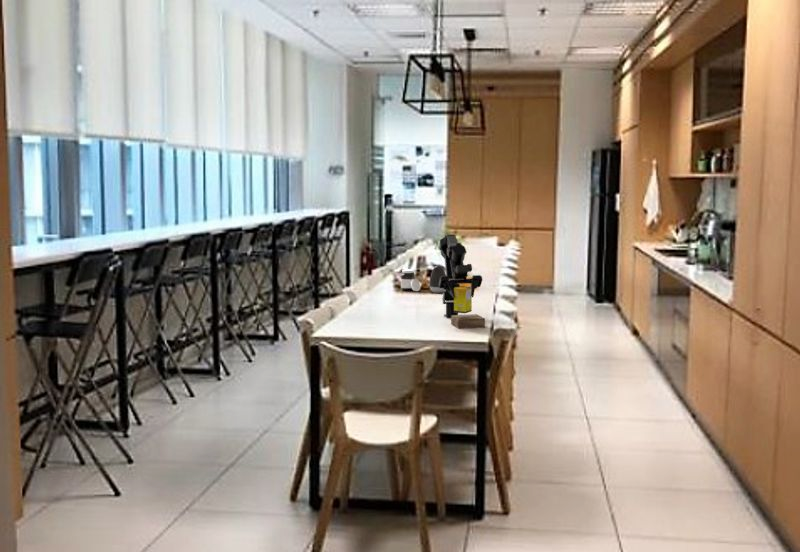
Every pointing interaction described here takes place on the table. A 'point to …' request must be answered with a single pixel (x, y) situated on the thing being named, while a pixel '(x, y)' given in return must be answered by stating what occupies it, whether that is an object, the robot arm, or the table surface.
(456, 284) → the robot arm
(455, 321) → the walnut plinth
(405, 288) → the spread jar
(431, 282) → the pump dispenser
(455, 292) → the supplement box
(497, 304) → the table surface
